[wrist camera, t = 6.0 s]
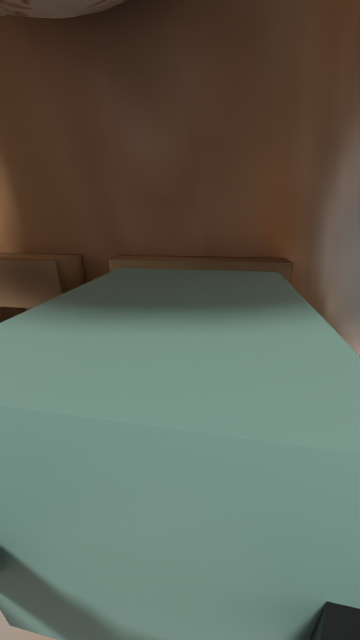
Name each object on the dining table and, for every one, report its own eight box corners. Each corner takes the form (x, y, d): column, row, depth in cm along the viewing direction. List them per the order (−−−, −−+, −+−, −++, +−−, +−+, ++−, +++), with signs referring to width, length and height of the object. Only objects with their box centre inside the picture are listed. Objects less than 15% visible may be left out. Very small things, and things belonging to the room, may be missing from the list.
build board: (101, 380, 22) (83, 403, 19) (-22, 367, 24) (-54, 386, 21) (81, 254, 18) (54, 261, 15) (-66, 252, 20) (-113, 257, 17)
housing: (258, 409, 18) (309, 715, 7) (132, 395, 19) (9, 625, 8) (278, 272, 14) (469, 469, 3) (119, 267, 15) (-139, 387, 5)
